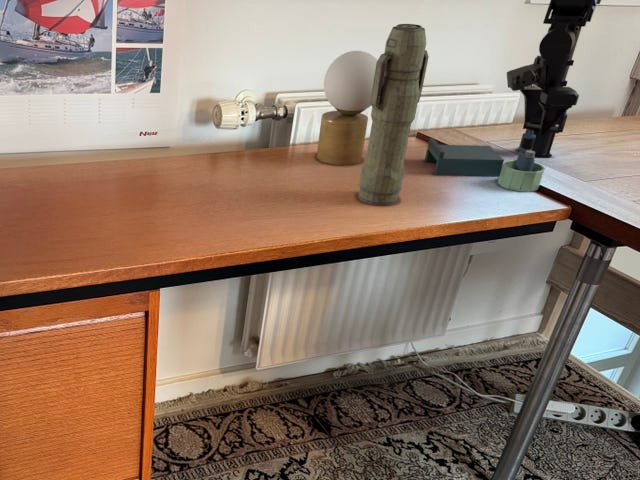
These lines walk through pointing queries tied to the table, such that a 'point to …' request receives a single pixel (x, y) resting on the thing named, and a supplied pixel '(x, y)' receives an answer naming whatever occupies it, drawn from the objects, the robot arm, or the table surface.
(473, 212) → the table surface
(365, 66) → the lamp
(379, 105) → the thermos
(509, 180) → the green bowl
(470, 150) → the dark green stepped platform
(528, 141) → the vaping device
